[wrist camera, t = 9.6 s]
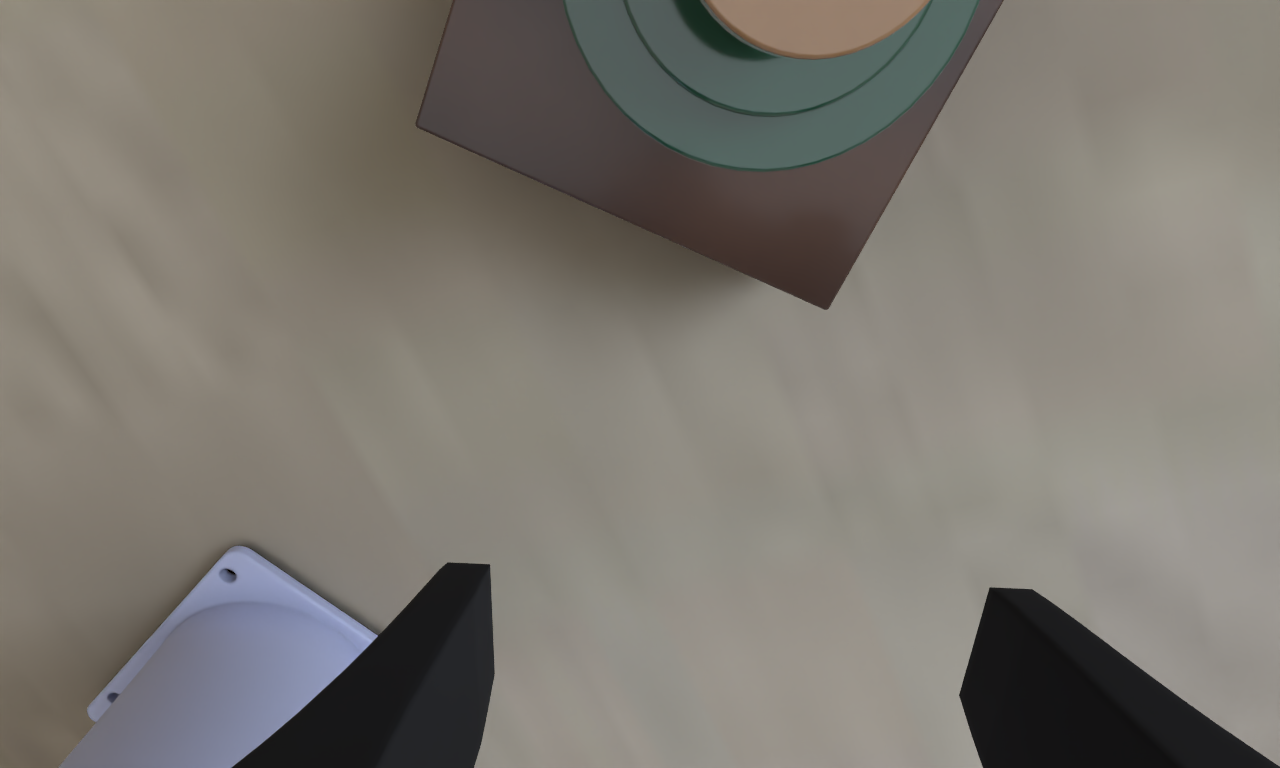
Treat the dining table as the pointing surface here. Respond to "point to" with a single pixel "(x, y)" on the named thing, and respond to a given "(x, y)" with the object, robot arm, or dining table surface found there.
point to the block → (664, 150)
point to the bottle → (766, 71)
